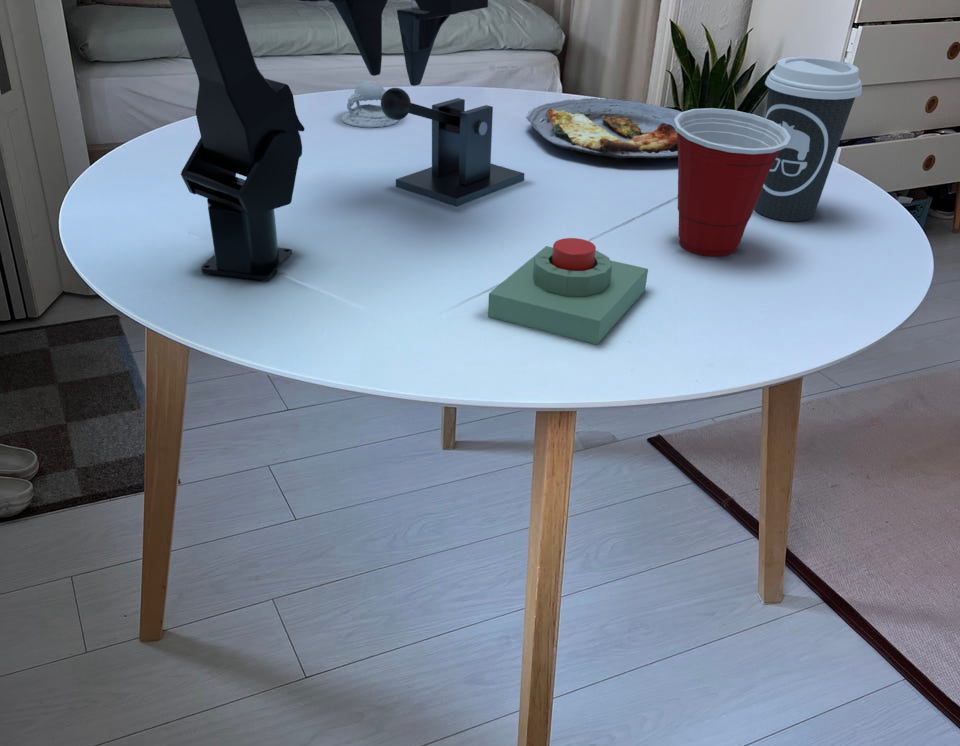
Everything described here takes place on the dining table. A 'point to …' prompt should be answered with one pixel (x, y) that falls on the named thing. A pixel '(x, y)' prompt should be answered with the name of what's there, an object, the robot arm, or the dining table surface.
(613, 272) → the button block
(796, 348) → the dining table surface
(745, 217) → the plastic cup
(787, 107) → the coffee cup
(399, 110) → the control lever
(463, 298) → the dining table surface
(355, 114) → the miniature
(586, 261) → the button
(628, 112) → the food plate
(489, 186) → the lever bracket
